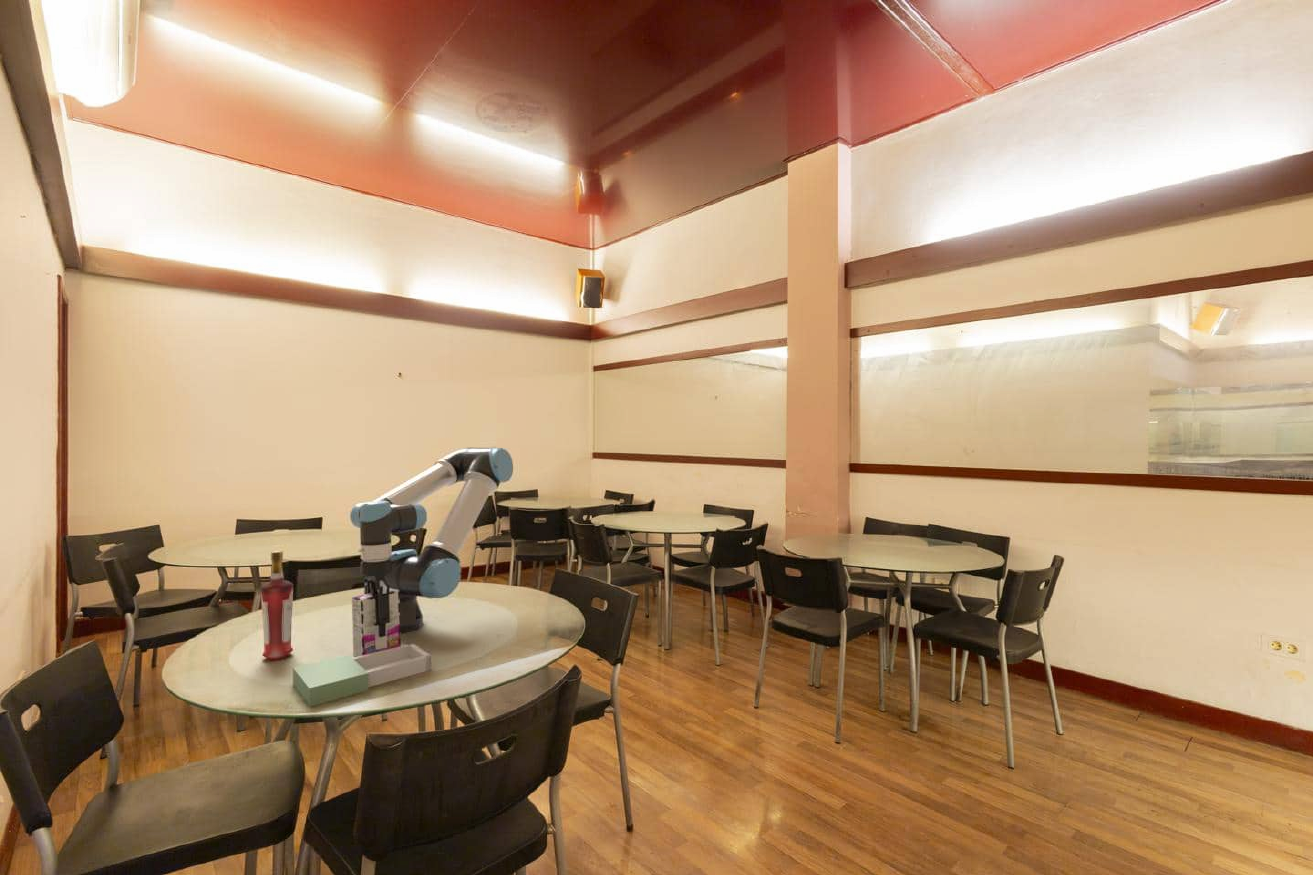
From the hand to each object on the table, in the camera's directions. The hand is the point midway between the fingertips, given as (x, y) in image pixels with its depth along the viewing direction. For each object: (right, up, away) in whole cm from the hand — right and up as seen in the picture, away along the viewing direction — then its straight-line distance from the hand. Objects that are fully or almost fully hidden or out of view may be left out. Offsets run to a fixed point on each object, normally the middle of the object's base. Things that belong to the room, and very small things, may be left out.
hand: (376, 644), depth 159 cm
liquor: (-26, -3, -2) cm, 26 cm away
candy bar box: (0, -3, 0) cm, 3 cm away
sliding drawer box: (+5, -2, -16) cm, 17 cm away
